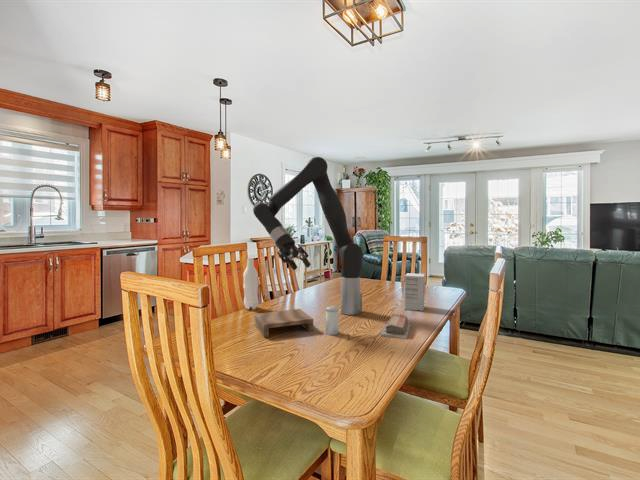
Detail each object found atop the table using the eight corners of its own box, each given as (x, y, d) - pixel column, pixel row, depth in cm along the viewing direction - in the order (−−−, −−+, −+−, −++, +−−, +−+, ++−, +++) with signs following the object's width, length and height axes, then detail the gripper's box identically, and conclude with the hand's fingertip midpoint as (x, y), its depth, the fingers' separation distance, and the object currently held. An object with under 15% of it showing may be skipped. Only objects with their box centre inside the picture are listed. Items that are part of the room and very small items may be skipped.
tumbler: (335, 330, 142) (335, 305, 141) (340, 334, 137) (340, 308, 136) (323, 331, 140) (323, 307, 139) (328, 335, 135) (328, 310, 135)
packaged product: (387, 312, 151) (411, 314, 148) (387, 323, 152) (411, 326, 148) (380, 324, 134) (406, 327, 131) (379, 337, 135) (406, 340, 131)
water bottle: (255, 310, 171) (254, 259, 169) (241, 309, 173) (240, 259, 171) (260, 306, 178) (259, 257, 176) (247, 306, 180) (246, 257, 178)
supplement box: (423, 311, 169) (424, 276, 168) (404, 309, 172) (404, 275, 171) (424, 306, 178) (425, 273, 177) (405, 305, 181) (406, 272, 180)
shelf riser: (300, 320, 156) (300, 308, 155) (313, 331, 141) (313, 318, 141) (255, 325, 148) (254, 313, 148) (264, 337, 133) (263, 324, 133)
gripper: (275, 233, 145) (296, 263, 139) (297, 232, 157) (318, 260, 151) (266, 245, 149) (286, 275, 143) (288, 243, 160) (308, 271, 154)
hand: (302, 267), depth 147 cm, fingers open, 8 cm apart
